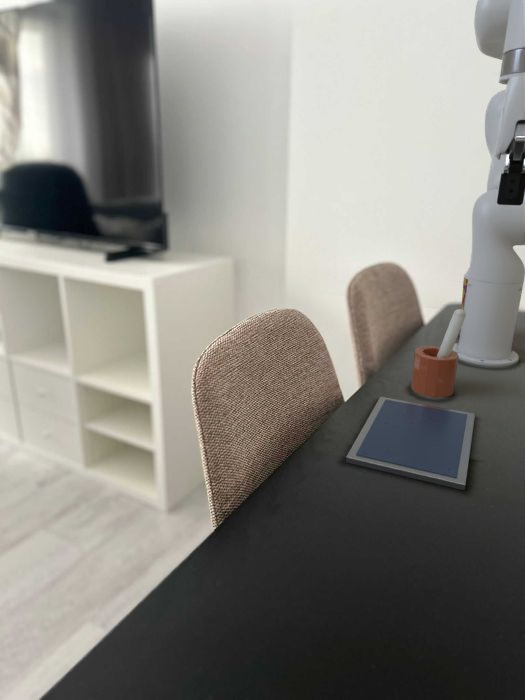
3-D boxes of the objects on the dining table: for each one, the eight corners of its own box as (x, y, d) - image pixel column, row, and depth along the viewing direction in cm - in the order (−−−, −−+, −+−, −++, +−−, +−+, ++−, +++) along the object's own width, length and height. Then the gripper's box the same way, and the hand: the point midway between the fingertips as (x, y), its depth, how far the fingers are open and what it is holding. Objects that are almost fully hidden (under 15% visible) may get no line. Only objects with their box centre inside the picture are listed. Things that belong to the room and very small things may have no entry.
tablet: (379, 400, 81) (380, 395, 81) (474, 418, 76) (475, 412, 76) (345, 462, 64) (345, 456, 64) (464, 490, 59) (465, 484, 58)
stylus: (425, 385, 85) (456, 306, 79) (436, 389, 85) (468, 309, 79) (423, 389, 84) (455, 308, 78) (434, 393, 83) (466, 312, 77)
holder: (413, 381, 89) (418, 343, 86) (454, 388, 86) (460, 349, 84) (407, 396, 83) (411, 355, 81) (450, 404, 80) (457, 362, 78)
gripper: (501, 80, 77) (483, 199, 82) (499, 58, 62) (478, 205, 67) (558, 77, 74) (535, 201, 79) (570, 53, 59) (541, 207, 65)
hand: (509, 202), depth 73 cm, fingers open, 9 cm apart
